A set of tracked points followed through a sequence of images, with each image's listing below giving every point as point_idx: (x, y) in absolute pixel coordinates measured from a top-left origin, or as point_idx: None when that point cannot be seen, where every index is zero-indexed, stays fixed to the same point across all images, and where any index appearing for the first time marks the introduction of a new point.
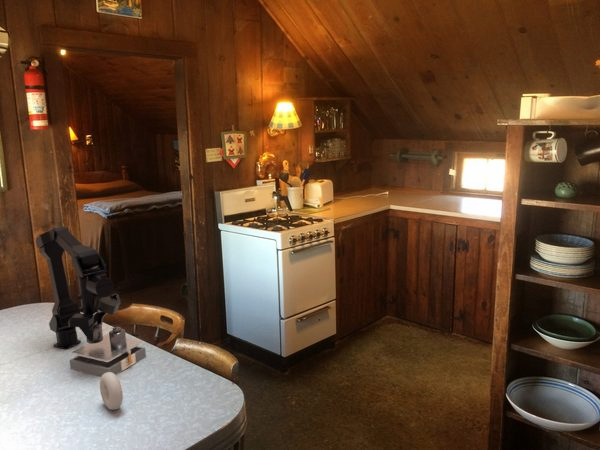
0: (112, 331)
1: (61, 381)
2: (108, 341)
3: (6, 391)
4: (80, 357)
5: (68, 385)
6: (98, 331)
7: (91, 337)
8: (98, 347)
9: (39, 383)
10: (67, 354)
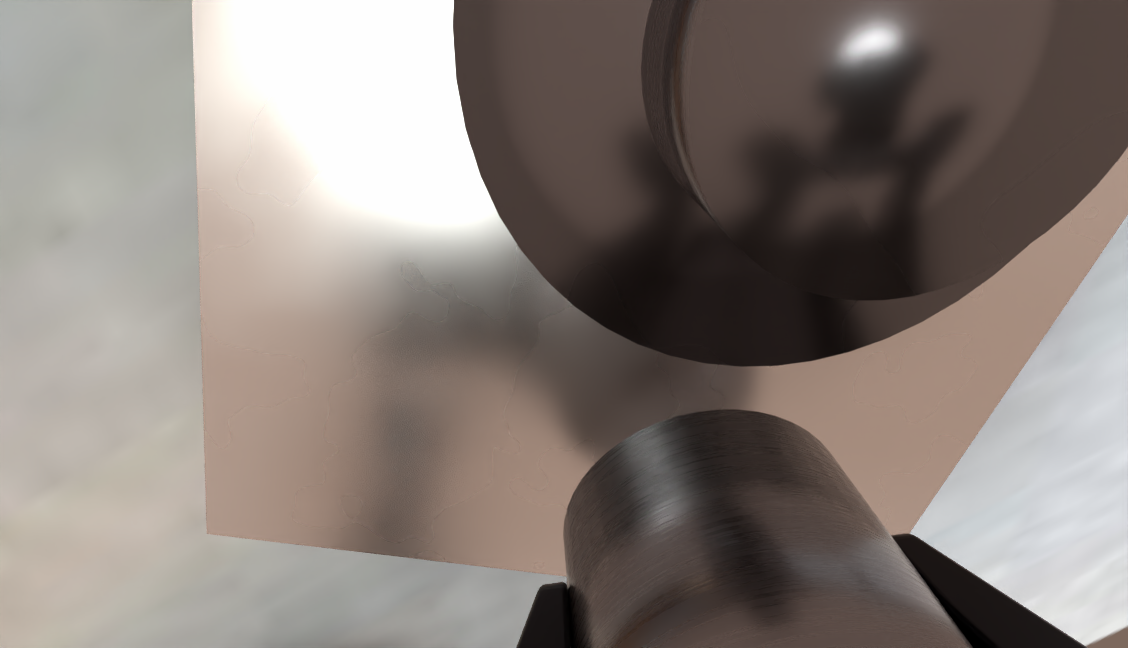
0: (774, 277)
1: (1013, 416)
2: (465, 368)
3: (1084, 642)
4: None
5: (1114, 316)
6: (928, 631)
7: (996, 600)
8: (711, 392)
9: (1012, 541)
10: (509, 637)
